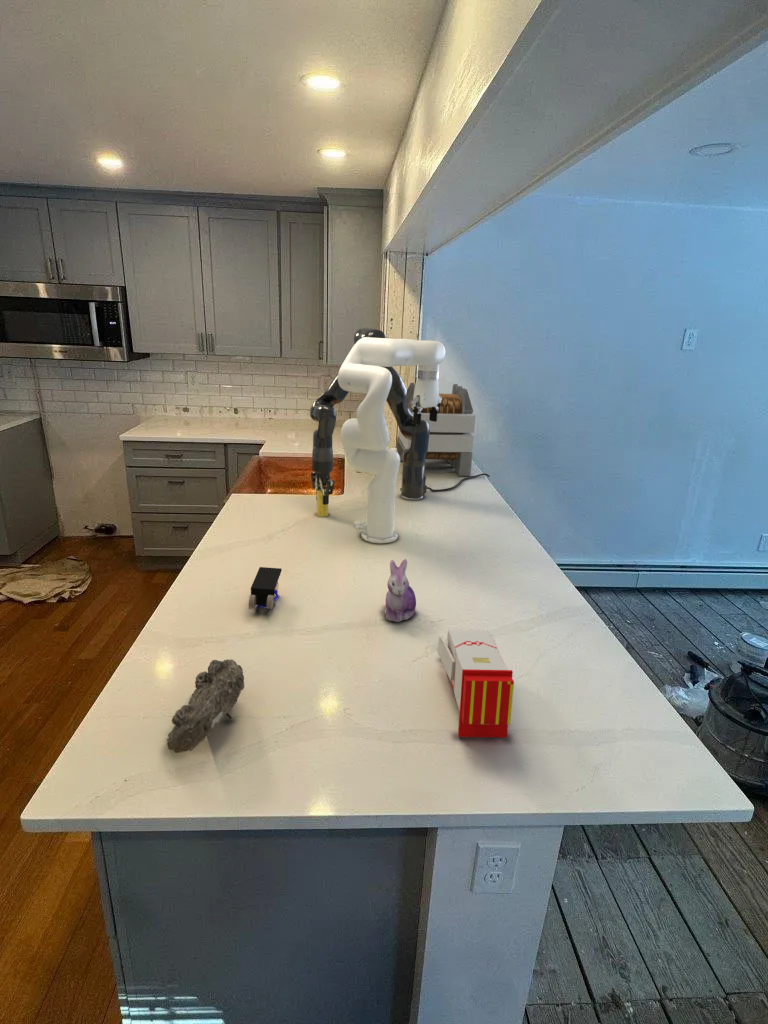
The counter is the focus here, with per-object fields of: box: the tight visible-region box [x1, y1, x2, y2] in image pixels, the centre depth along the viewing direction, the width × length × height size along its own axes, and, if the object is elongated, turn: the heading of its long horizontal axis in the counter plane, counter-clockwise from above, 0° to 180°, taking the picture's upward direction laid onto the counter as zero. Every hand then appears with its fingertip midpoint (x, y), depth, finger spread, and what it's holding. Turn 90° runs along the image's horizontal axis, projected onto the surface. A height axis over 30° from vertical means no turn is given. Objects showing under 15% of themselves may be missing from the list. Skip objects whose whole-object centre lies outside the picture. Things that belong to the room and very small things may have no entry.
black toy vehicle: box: [248, 566, 283, 614], centre depth 148 cm, size 7×8×15 cm
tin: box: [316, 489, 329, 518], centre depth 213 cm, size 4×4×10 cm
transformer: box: [396, 382, 476, 477], centre depth 280 cm, size 34×33×41 cm
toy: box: [437, 628, 515, 738], centre depth 117 cm, size 12×13×30 cm
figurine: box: [384, 558, 417, 623], centre depth 145 cm, size 9×10×15 cm
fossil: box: [166, 658, 245, 754], centre depth 106 cm, size 22×10×15 cm
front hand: (424, 422), depth 212 cm, fingers open, 9 cm apart
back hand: (322, 502), depth 213 cm, fingers closed on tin, 4 cm apart
